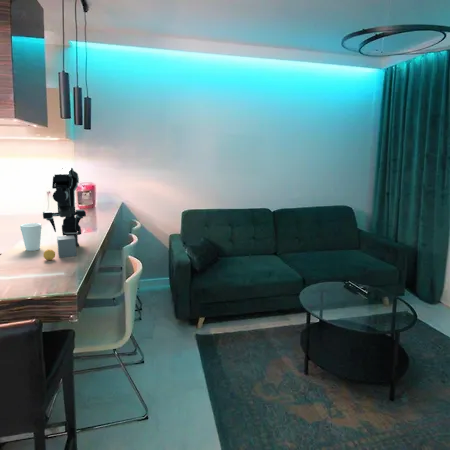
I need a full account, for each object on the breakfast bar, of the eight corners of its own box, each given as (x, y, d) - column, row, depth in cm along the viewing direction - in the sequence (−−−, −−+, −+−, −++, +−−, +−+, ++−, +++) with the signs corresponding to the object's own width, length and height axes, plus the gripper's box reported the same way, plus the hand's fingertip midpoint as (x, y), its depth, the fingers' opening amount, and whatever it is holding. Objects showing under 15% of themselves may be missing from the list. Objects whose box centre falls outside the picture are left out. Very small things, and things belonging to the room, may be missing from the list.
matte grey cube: (58, 253, 172) (57, 236, 170) (74, 251, 175) (73, 235, 174) (59, 257, 165) (57, 239, 163) (76, 255, 169) (75, 238, 167)
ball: (43, 259, 162) (42, 248, 161) (55, 257, 165) (54, 247, 164) (43, 261, 158) (43, 251, 157) (55, 260, 160) (55, 250, 159)
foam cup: (47, 247, 182) (45, 223, 179) (33, 252, 173) (31, 227, 170) (32, 246, 184) (30, 222, 182) (18, 250, 175) (15, 225, 173)
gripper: (42, 202, 154) (44, 236, 157) (86, 201, 162) (88, 233, 166) (41, 199, 163) (44, 231, 166) (83, 198, 172) (85, 228, 175)
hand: (65, 231), depth 168 cm, fingers open, 9 cm apart
